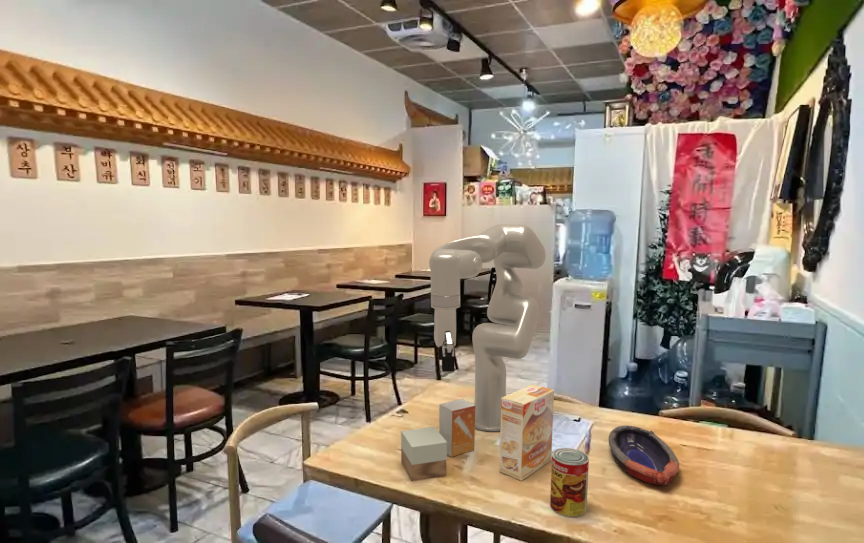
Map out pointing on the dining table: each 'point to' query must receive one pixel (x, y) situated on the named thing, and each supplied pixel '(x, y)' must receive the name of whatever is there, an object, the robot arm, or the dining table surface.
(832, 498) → the dining table surface
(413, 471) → the tower base
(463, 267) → the robot arm
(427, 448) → the tower top
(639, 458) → the dish
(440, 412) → the small box
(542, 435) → the coffeecake box
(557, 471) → the canned food
